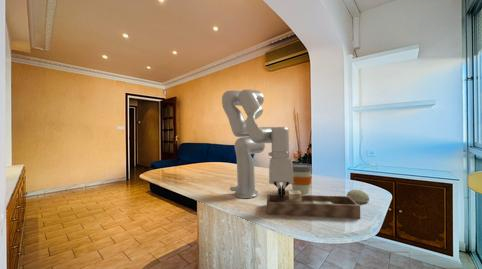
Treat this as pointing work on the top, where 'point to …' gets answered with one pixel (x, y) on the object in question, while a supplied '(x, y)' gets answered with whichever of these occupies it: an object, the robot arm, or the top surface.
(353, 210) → the tray
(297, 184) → the reusable coffee cup
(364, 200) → the sea urchin shell
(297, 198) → the maple block
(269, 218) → the top surface
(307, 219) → the top surface
